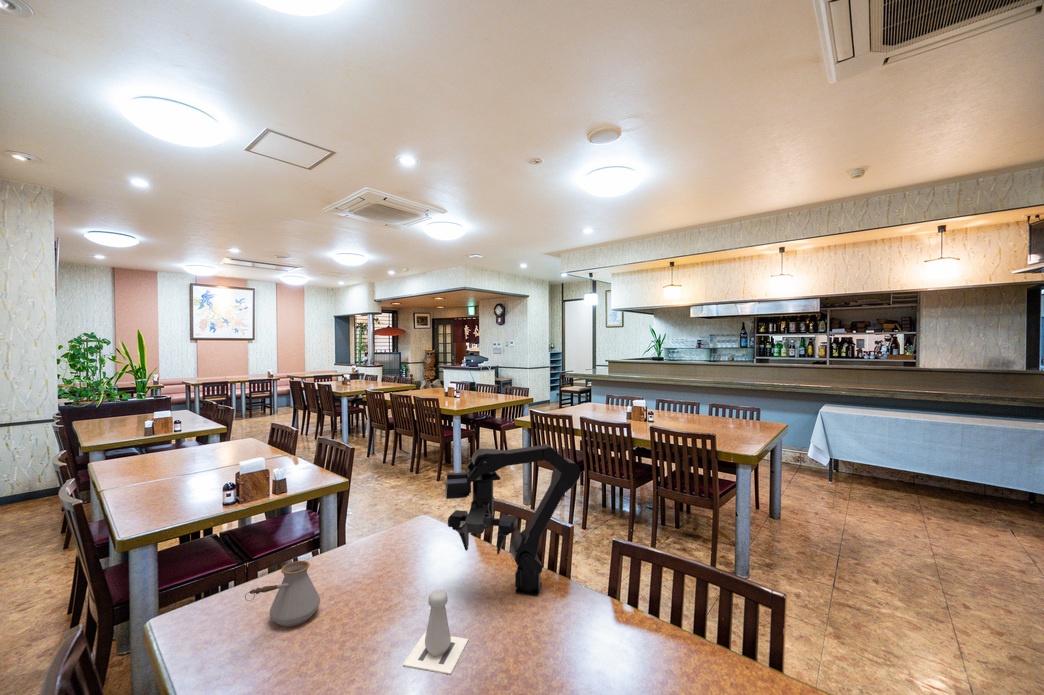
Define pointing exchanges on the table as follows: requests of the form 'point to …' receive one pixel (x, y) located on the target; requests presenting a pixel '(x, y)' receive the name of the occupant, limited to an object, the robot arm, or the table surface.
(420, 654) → the letter card
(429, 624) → the salt shaker
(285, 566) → the coffee pot
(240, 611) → the table surface
